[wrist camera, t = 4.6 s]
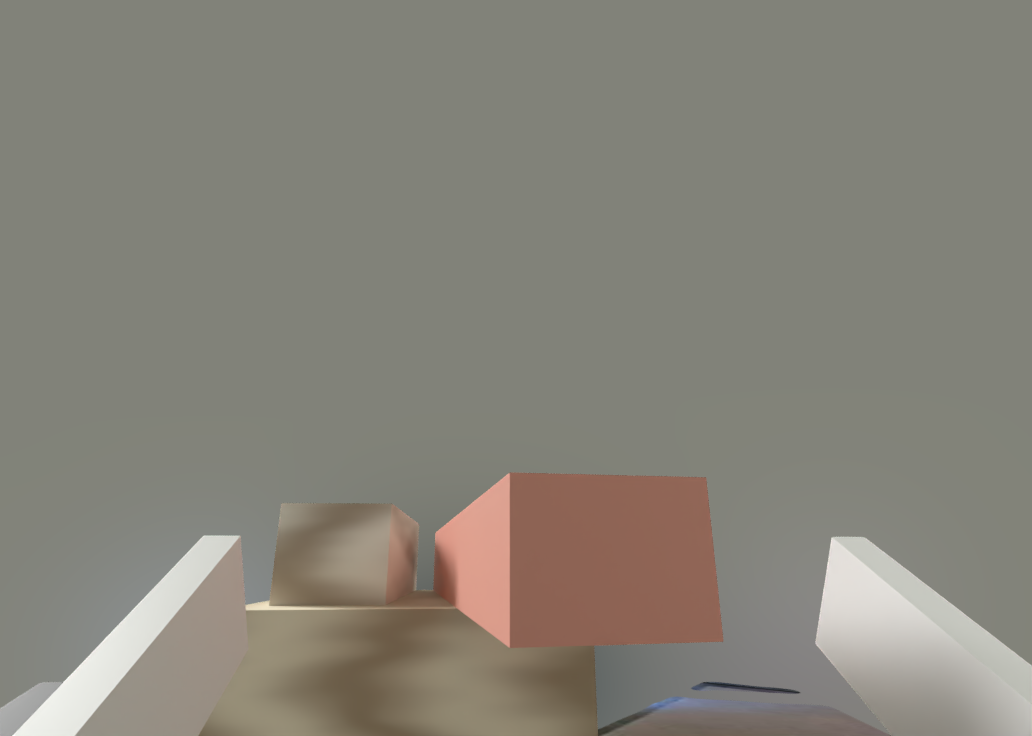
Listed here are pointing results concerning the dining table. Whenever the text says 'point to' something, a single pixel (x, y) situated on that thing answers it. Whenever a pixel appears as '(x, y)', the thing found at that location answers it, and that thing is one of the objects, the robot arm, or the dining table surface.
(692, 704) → the dining table surface
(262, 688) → the tall wood-grain block
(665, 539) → the stub
